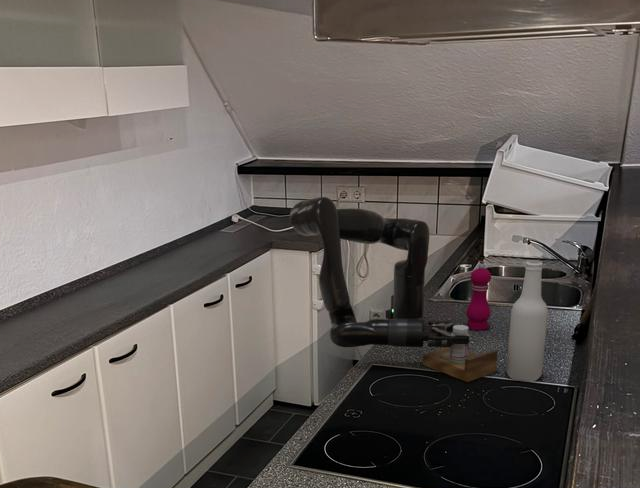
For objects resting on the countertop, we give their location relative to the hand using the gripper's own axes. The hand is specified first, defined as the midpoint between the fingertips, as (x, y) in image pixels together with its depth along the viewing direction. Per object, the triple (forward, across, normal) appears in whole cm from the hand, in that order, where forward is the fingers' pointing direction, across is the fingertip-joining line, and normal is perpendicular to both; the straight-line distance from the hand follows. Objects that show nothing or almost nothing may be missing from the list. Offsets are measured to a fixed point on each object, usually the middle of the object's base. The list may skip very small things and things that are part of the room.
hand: (468, 334), depth 200 cm
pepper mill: (+5, +35, +10) cm, 37 cm away
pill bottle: (-2, 0, +7) cm, 7 cm away
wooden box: (-2, 0, +10) cm, 10 cm away
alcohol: (+14, -4, +10) cm, 18 cm away
